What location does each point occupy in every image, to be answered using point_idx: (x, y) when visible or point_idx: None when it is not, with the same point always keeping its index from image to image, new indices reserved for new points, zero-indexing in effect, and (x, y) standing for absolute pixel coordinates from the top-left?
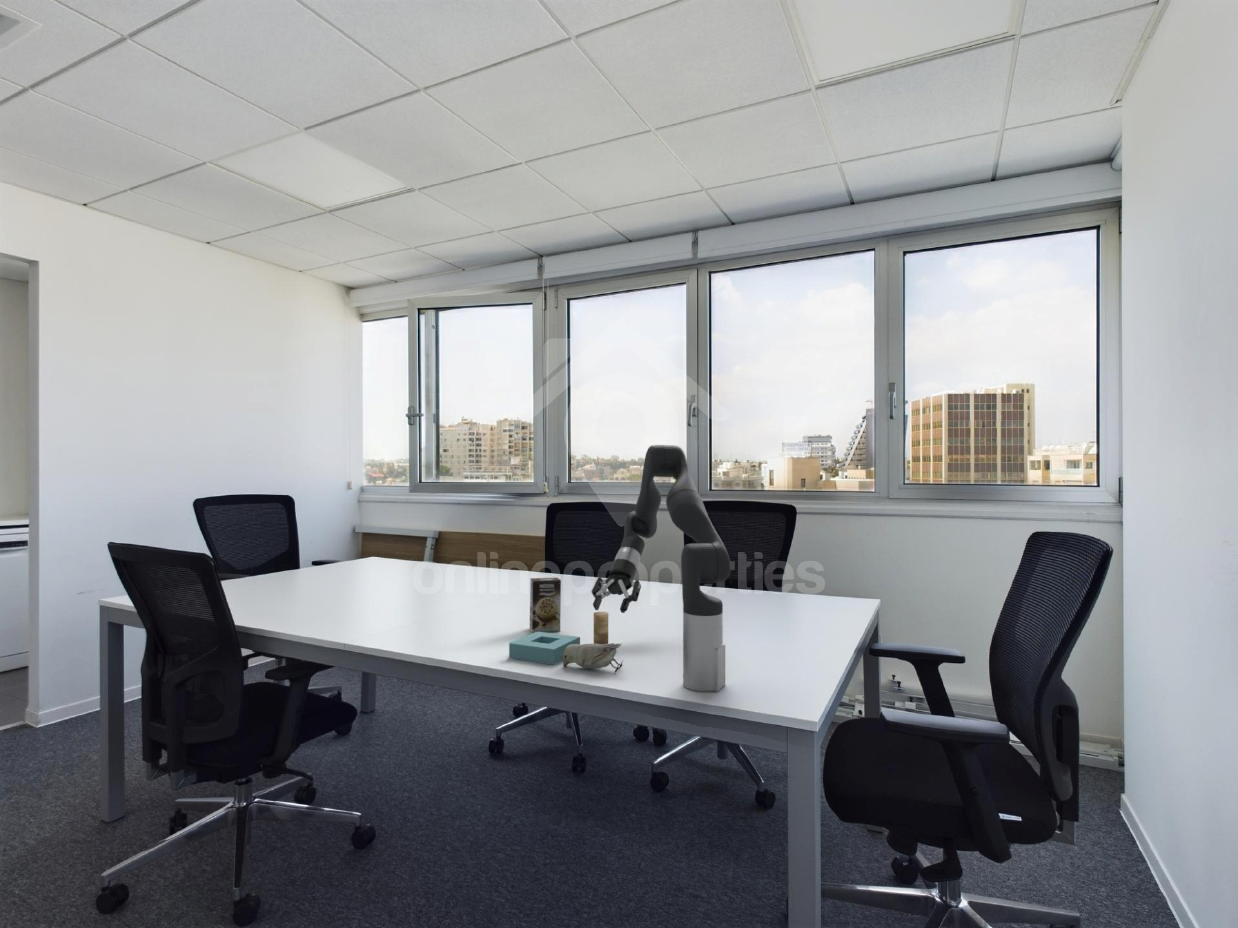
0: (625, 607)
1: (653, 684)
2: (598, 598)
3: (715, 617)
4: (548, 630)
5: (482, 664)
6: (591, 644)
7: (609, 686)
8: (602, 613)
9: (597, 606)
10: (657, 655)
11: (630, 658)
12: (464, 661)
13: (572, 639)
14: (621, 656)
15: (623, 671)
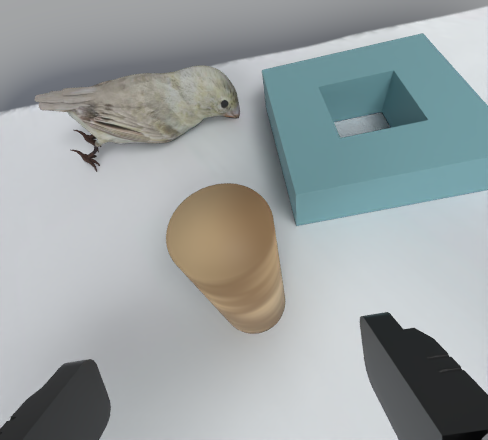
0: (31, 398)
1: (8, 145)
2: (414, 389)
3: None
4: None
5: (404, 30)
6: (135, 78)
7: None
8: (207, 230)
9: (372, 360)
10: (16, 350)
11: (101, 261)
12: (460, 18)
13: (292, 155)
14: (136, 262)
15: (87, 165)
